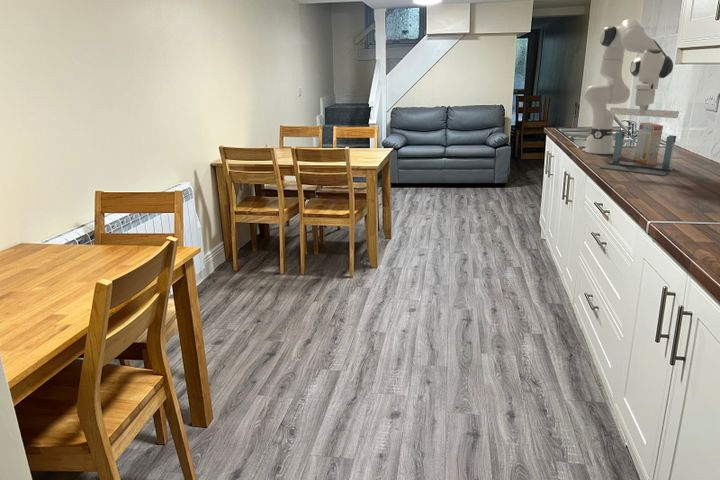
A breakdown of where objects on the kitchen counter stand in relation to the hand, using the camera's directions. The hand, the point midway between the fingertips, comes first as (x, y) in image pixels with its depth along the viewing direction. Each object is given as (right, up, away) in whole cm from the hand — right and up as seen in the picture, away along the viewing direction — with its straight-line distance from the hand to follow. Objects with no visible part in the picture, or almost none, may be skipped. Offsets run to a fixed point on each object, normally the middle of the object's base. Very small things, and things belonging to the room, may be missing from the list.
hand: (642, 114), depth 265 cm
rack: (+8, -23, +18) cm, 30 cm away
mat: (0, -26, +9) cm, 28 cm away
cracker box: (+16, -20, +28) cm, 38 cm away
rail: (0, -1, 0) cm, 1 cm away
